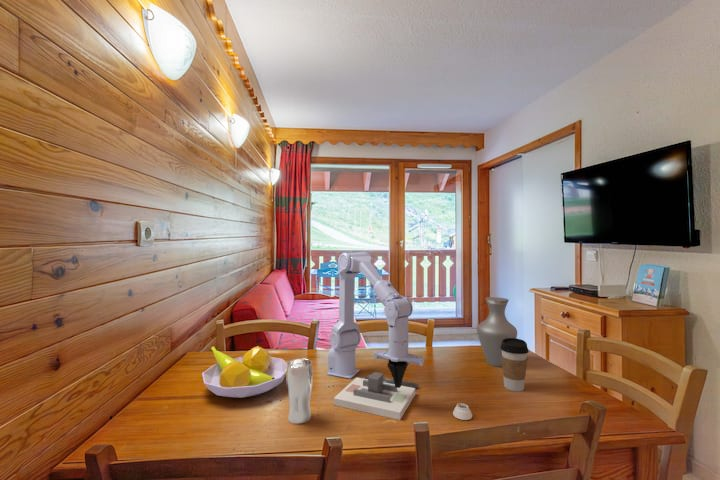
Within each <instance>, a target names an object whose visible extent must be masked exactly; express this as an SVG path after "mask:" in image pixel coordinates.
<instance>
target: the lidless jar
mask: <svg viewBox="0 0 720 480" xmlns="http://www.w3.org/2000/svg"><path fill="white" fill-rule="evenodd" d="M469 407H470V406H469V405H468V404H466V403H462V402H458V403H457V404H456V406H455V407H454V409H453V411H452V415H453V417H455V418H456V419H458V420H460V421H468V420H471V419H472V418H473V414H472V411H471V409H470V408H469Z"/></svg>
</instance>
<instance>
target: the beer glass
mask: <svg viewBox="0 0 720 480" xmlns="http://www.w3.org/2000/svg"><path fill="white" fill-rule="evenodd" d="M286 363H287V373H286V375H285V376H286V377H285V379H286V383H285V384H286V391H287V396H288V401H289V410H288V411H289V412H288V417H287V420H288V422H290V423H291V424H294V425H302V424H305V423H307V422H309V421H310V420H311V418H312V415H311V414H312V413H311V407H310V404H311V403H310V402H311V396H312V395H311V394H312V390H313V389H312V388H313V380H314V377H313V376H314V375H313V374H314V373H313V362H312V360H311V359H309V358H303V357H302V358H294V359H291V360H289V361H288V362H286Z"/></svg>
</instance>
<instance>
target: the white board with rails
mask: <svg viewBox="0 0 720 480" xmlns="http://www.w3.org/2000/svg"><path fill="white" fill-rule="evenodd" d="M371 375H372V374H368V375H367V376H363V377H362V378H361V377H355V378H354V379H353V380H352V381H351V382H349V384H347V385H346V386H345V387H344V388H343V389H342V390H341V391H340V392H339V393H338V394H337V395H335V396H334V397H333V405H334V406H337V407H341V408H346V409H350V410H354V411H357V412H358V411H360V412H363V413H367V414H371V415H376V416H381V417H384V418H388V419H389V418H390V419H393V420H399V421H401V419H402V417H403V415H404V414H405V413H406V410H407V409H408V408H409V406H410V404H411V403H412V401H413V399H414V397H415V396H416V389H418V388H419V384H418V383H417V382H413V381H407V380H402V385H401V387H400V388H397V387H395V384H394V380H393V378H391V377H386V376H385V377H384V376H383V391H382V392H381V393H380V394H378V393H373V392H368V378H369V377H370V376H371Z"/></svg>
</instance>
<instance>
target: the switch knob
mask: <svg viewBox="0 0 720 480" xmlns="http://www.w3.org/2000/svg"><path fill="white" fill-rule="evenodd" d="M370 375H371V376H370V377H369V378H368V392H373V393H378V394H380V393H381V392H382V391H383V377H384V373H382V372H376V371H374V372H372V374H370Z"/></svg>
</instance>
